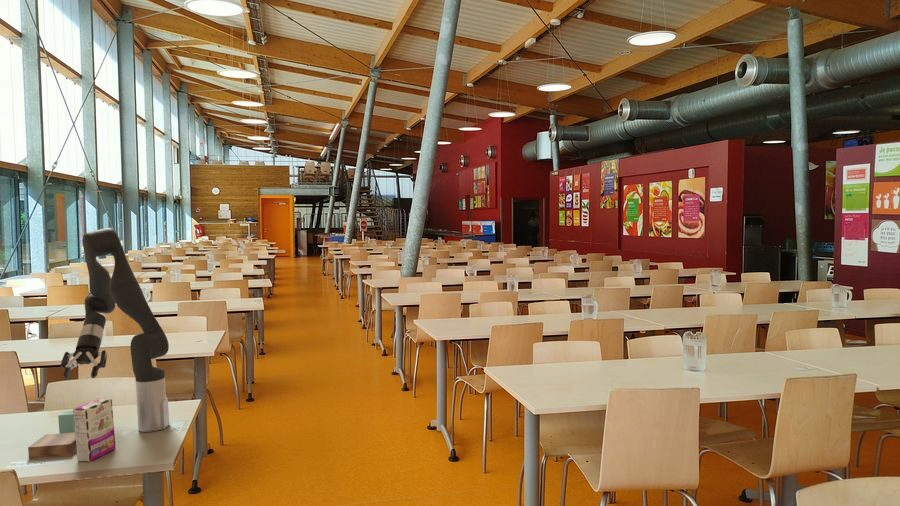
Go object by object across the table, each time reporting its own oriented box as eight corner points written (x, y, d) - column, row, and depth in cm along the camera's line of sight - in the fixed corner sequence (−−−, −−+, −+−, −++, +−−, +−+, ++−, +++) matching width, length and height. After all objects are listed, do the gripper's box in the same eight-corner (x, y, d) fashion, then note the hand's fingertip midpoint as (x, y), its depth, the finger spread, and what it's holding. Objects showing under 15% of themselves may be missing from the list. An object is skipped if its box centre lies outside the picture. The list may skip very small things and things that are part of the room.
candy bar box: (102, 448, 210) (99, 397, 208) (116, 449, 209) (113, 398, 207) (75, 462, 199) (72, 408, 198) (90, 462, 198) (86, 408, 197)
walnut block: (86, 443, 216) (85, 431, 216) (71, 456, 204) (70, 444, 204) (46, 446, 214) (45, 434, 214) (29, 460, 202) (28, 447, 202)
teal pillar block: (79, 433, 225) (78, 410, 225) (74, 437, 221) (72, 414, 220) (65, 434, 225) (63, 411, 224) (59, 439, 220) (58, 415, 220)
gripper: (65, 334, 240) (54, 373, 229) (108, 332, 242) (98, 371, 232) (72, 345, 245) (61, 384, 235) (113, 344, 248) (104, 382, 237)
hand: (79, 377), depth 233 cm, fingers open, 8 cm apart
